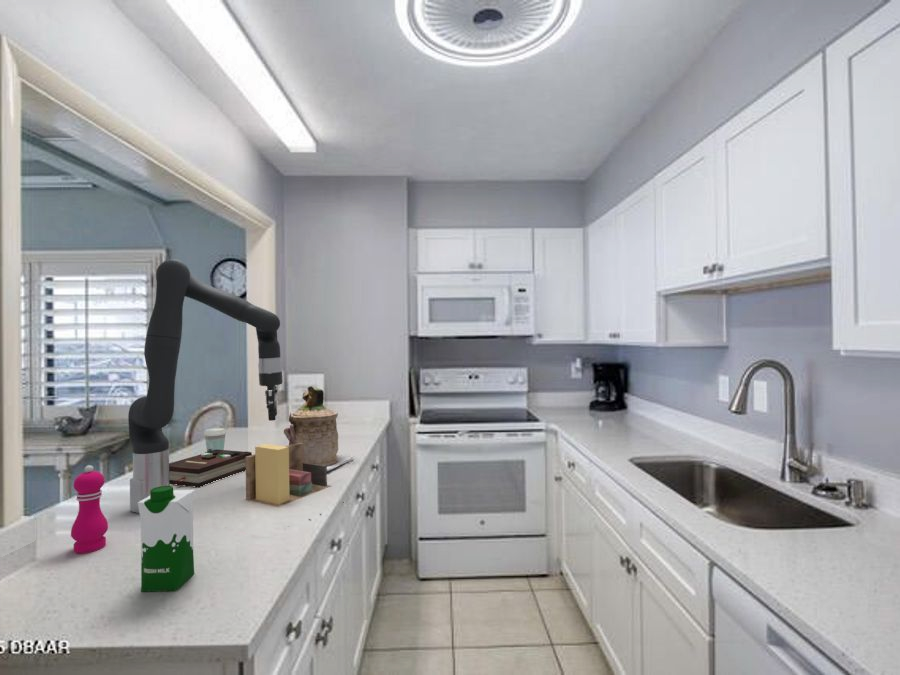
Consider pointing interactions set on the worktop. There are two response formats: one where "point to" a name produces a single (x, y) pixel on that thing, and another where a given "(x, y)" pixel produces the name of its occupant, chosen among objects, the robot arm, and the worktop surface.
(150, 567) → the milk carton
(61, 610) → the worktop surface
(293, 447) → the shelf
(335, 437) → the cookie jar
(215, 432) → the coffee cup
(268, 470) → the ochre book
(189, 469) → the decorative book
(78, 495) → the pepper mill
